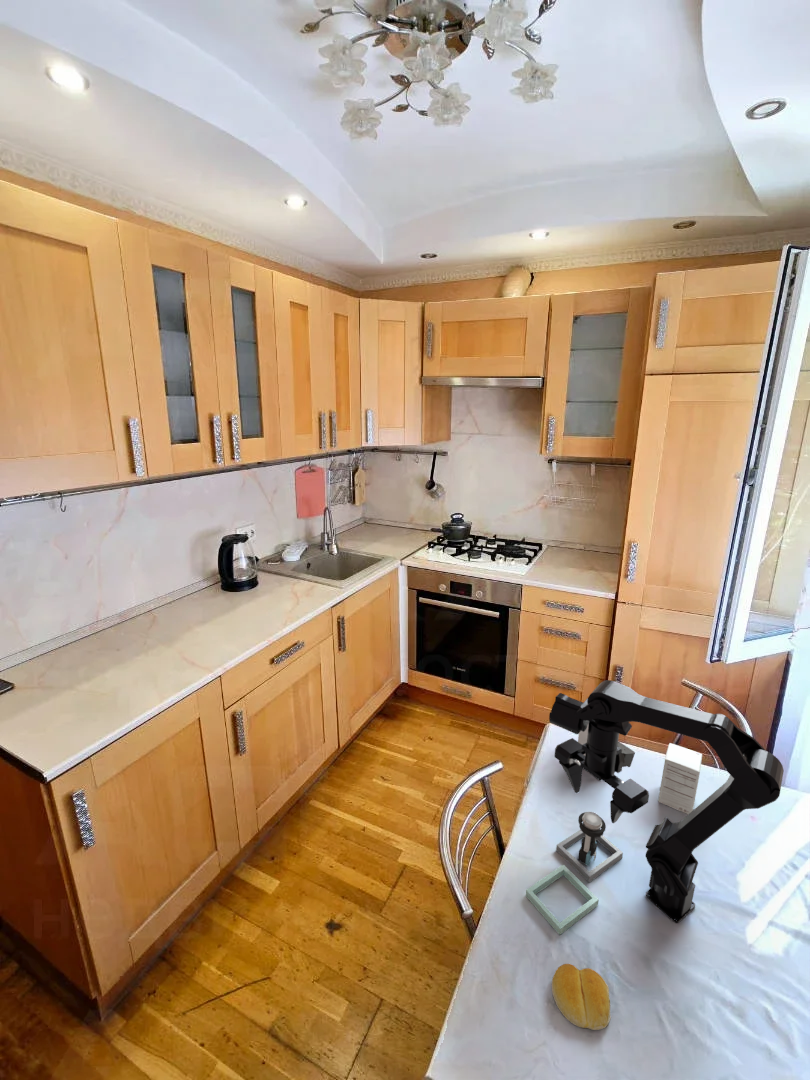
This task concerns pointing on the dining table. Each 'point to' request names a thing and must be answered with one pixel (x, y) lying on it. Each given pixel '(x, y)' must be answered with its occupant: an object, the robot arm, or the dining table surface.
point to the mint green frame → (576, 915)
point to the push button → (590, 835)
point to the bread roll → (582, 996)
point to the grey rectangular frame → (578, 866)
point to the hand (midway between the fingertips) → (594, 806)
